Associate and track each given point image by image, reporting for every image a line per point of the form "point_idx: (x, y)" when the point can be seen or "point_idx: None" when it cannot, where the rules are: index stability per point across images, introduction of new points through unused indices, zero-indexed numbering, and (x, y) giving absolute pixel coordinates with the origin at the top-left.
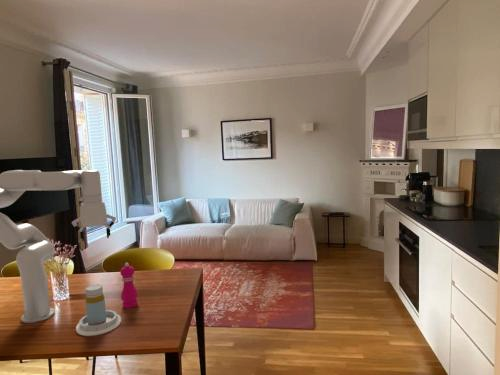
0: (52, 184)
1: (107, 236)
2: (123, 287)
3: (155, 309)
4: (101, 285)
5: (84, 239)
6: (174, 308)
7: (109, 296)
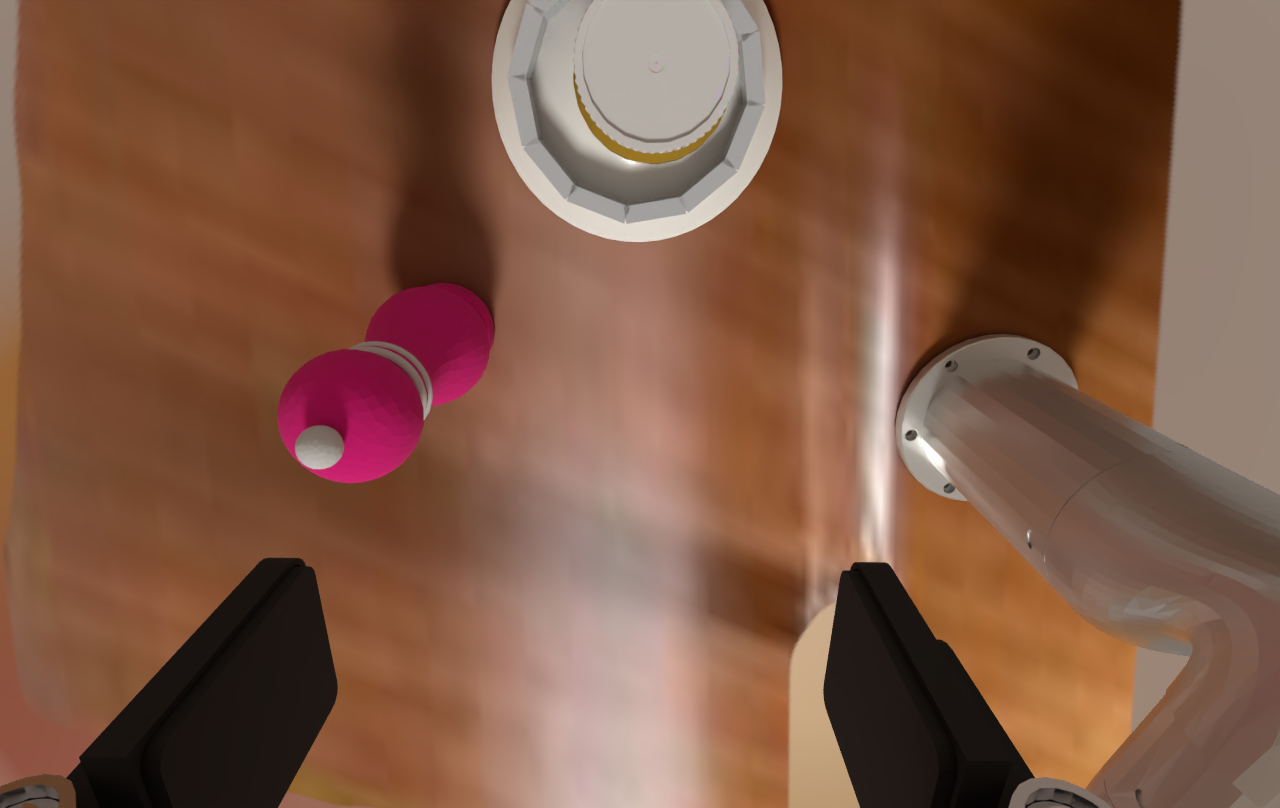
0: None
1: (275, 577)
2: (444, 361)
3: (269, 170)
4: (582, 83)
5: (835, 641)
6: (129, 118)
7: (584, 523)
